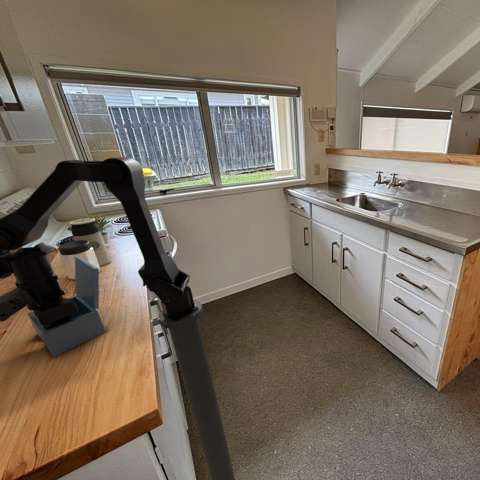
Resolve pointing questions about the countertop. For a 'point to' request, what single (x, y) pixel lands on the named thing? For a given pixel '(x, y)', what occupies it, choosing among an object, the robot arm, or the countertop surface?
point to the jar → (76, 255)
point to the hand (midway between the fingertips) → (61, 330)
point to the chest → (70, 328)
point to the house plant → (104, 234)
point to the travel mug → (90, 237)
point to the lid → (87, 282)
